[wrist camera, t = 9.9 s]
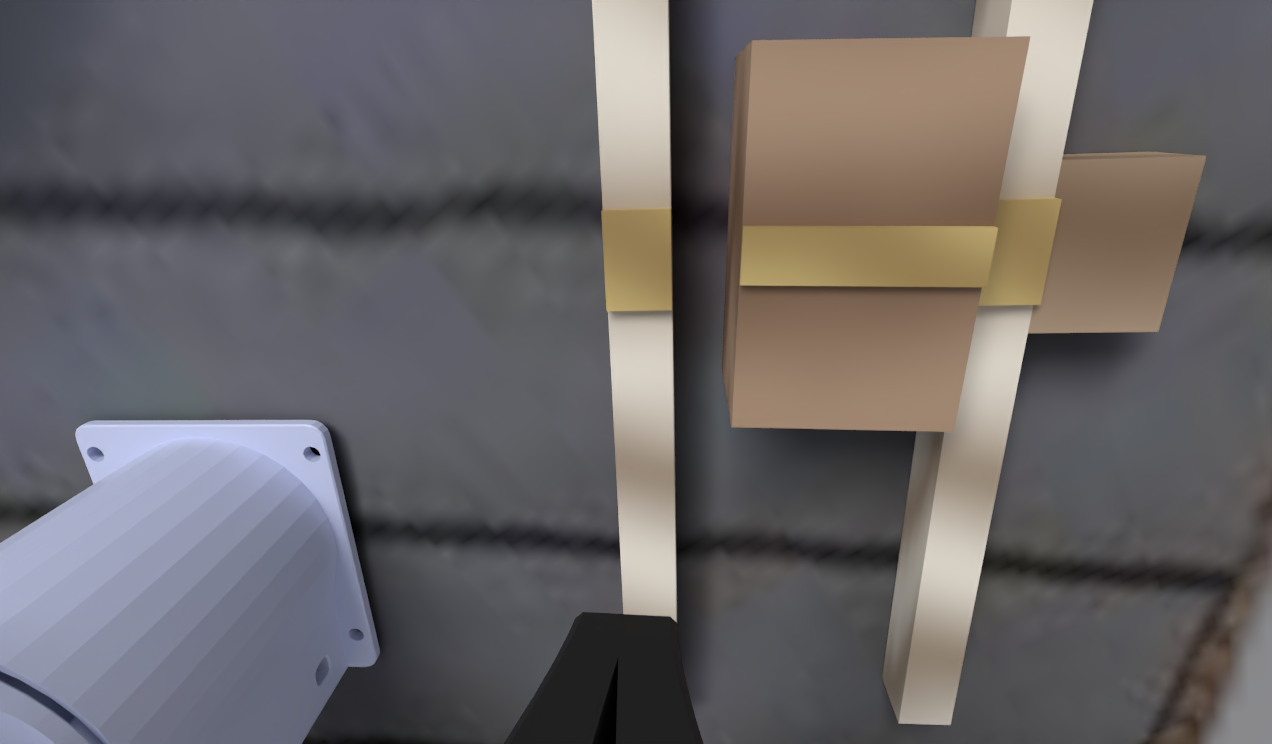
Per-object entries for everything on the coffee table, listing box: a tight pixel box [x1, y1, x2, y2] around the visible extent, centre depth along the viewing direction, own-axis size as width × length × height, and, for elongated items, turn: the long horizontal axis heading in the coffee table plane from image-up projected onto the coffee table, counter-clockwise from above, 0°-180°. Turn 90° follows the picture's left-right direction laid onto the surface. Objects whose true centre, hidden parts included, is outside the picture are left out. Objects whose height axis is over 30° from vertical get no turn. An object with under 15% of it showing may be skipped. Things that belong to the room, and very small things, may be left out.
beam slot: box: [592, 0, 1206, 725], centre depth 16 cm, size 32×13×2 cm, turn 2°
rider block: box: [722, 36, 1031, 432], centre depth 15 cm, size 8×5×4 cm, turn 0°
